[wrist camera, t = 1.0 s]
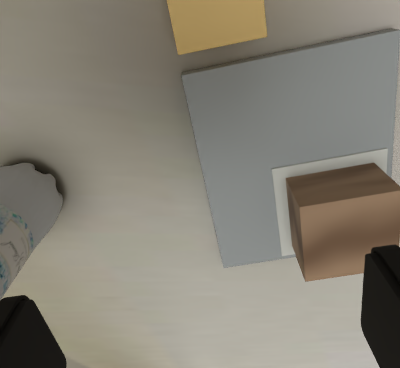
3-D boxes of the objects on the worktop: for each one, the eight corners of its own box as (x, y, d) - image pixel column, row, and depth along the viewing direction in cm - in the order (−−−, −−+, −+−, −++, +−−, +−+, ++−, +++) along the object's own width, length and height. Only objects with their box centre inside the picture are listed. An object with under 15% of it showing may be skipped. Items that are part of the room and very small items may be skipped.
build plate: (181, 72, 26) (181, 76, 24) (391, 28, 24) (401, 30, 23) (222, 259, 34) (223, 269, 33) (381, 234, 33) (388, 244, 31)
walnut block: (285, 178, 28) (299, 207, 24) (374, 162, 28) (403, 189, 24) (292, 245, 31) (305, 281, 27) (371, 233, 31) (397, 268, 27)
